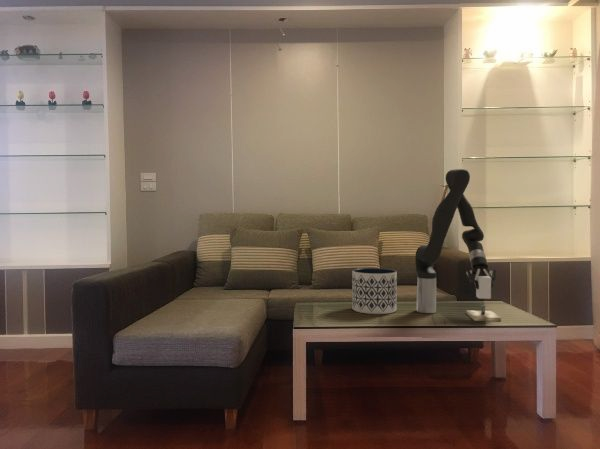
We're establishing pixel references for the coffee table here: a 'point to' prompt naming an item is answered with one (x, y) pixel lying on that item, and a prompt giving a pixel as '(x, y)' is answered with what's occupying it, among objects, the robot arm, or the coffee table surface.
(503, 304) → the coffee table surface
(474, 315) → the stub plate
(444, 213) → the robot arm
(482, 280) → the block
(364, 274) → the planter
